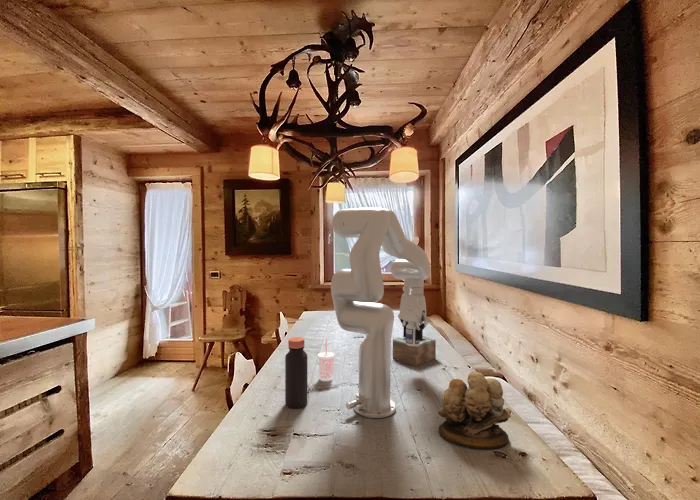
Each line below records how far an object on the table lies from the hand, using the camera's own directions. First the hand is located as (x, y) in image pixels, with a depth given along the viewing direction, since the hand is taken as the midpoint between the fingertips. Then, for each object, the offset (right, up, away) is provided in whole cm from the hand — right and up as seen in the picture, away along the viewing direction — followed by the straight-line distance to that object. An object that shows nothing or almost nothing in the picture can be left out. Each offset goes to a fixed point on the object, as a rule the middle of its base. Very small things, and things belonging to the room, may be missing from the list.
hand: (412, 337), depth 127 cm
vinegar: (-41, -14, -26) cm, 50 cm away
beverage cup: (-33, -13, -7) cm, 36 cm away
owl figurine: (+8, -14, -43) cm, 46 cm away
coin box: (+3, -13, +15) cm, 20 cm away
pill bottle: (0, -3, 0) cm, 3 cm away
